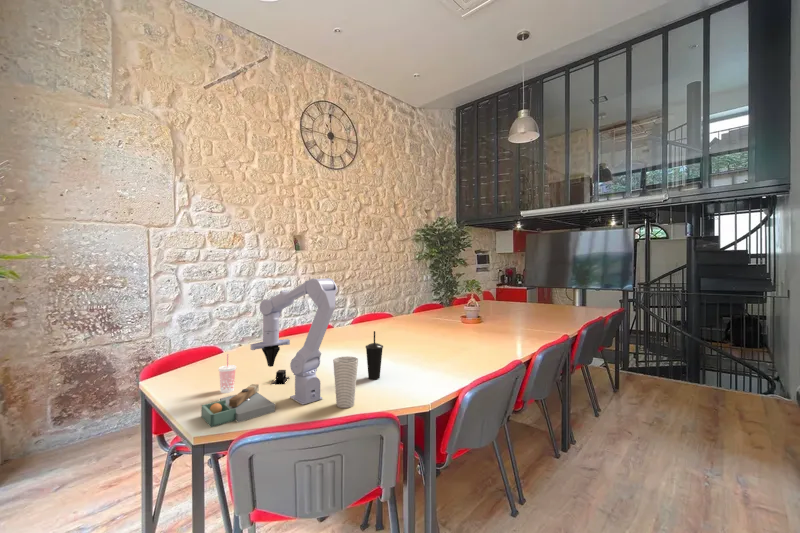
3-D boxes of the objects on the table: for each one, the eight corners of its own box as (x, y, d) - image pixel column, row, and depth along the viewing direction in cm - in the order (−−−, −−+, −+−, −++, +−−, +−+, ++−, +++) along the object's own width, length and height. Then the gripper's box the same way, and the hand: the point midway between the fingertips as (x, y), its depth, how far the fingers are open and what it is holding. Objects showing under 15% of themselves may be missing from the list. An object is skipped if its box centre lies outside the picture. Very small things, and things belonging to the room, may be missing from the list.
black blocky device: (285, 386, 137) (285, 375, 137) (266, 387, 136) (266, 375, 136) (293, 377, 149) (293, 366, 149) (276, 377, 149) (276, 366, 149)
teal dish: (235, 420, 105) (235, 408, 105) (210, 427, 100) (211, 415, 100) (225, 410, 112) (225, 399, 112) (201, 416, 107) (201, 405, 107)
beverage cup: (239, 389, 131) (239, 353, 132) (224, 394, 126) (224, 356, 126) (229, 387, 134) (230, 351, 135) (214, 391, 129) (215, 354, 129)
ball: (207, 404, 107) (216, 406, 106) (216, 400, 110) (225, 403, 109) (206, 415, 107) (214, 418, 106) (215, 411, 110) (223, 414, 109)
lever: (236, 406, 108) (236, 398, 108) (229, 406, 108) (229, 397, 108) (258, 390, 122) (258, 383, 123) (251, 390, 123) (252, 382, 123)
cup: (327, 404, 117) (328, 359, 118) (348, 398, 123) (348, 355, 124) (342, 412, 111) (342, 364, 112) (362, 404, 117) (363, 359, 117)
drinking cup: (382, 380, 143) (382, 333, 143) (364, 380, 143) (364, 332, 143) (383, 375, 151) (383, 329, 151) (366, 375, 151) (366, 329, 151)
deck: (274, 411, 111) (274, 404, 111) (237, 422, 103) (238, 414, 103) (254, 397, 124) (254, 390, 124) (219, 405, 116) (219, 398, 116)
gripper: (284, 327, 139) (284, 360, 139) (247, 331, 129) (247, 367, 129) (292, 329, 134) (292, 364, 134) (254, 333, 124) (254, 371, 124)
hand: (270, 366), depth 131 cm, fingers closed
